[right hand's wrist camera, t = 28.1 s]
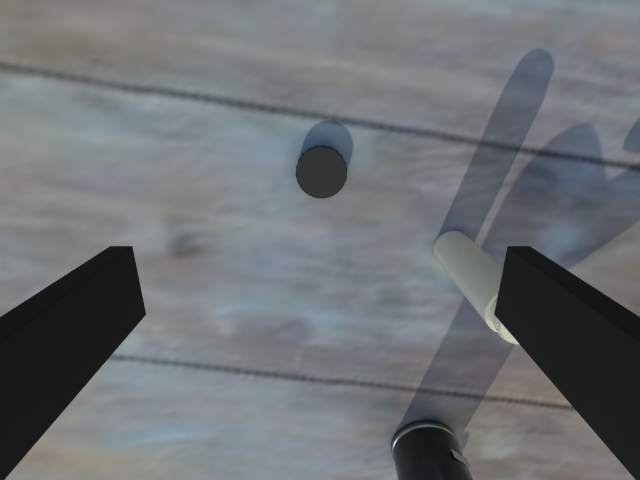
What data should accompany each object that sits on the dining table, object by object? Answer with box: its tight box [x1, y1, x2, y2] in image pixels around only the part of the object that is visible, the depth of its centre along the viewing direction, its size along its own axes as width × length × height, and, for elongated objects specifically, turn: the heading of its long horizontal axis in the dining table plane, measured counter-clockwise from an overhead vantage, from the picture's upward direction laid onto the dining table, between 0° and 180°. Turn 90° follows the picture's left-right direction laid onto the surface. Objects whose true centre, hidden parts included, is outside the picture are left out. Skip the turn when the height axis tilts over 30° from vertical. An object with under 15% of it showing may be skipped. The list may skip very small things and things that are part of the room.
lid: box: [296, 145, 347, 198], centre depth 36 cm, size 5×5×2 cm
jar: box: [433, 231, 519, 344], centre depth 33 cm, size 4×4×15 cm
